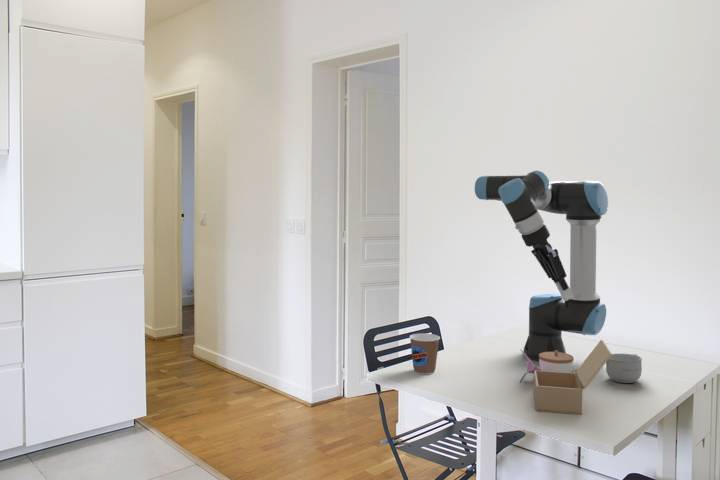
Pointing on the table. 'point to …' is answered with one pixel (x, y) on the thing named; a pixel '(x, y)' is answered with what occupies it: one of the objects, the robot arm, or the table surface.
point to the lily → (530, 366)
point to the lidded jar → (556, 361)
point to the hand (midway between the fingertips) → (568, 298)
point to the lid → (593, 364)
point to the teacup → (624, 367)
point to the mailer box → (557, 392)
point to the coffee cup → (424, 352)
